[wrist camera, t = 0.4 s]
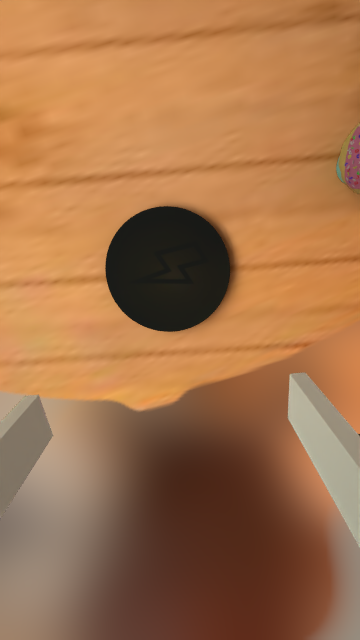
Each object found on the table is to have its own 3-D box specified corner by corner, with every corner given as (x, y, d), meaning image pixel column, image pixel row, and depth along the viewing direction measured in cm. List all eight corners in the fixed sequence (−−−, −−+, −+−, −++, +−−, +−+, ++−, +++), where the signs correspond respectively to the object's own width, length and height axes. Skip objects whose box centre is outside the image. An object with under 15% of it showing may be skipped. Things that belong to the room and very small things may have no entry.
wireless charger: (85, 273, 38) (80, 275, 36) (165, 177, 34) (164, 174, 32) (170, 347, 42) (170, 352, 40) (252, 270, 38) (255, 272, 36)
